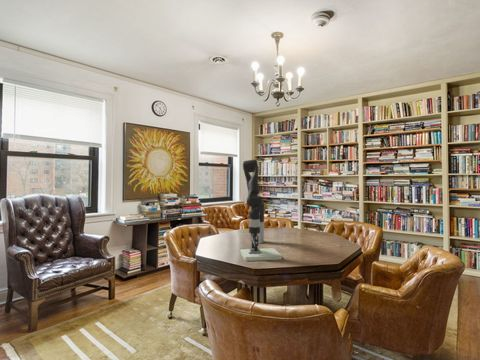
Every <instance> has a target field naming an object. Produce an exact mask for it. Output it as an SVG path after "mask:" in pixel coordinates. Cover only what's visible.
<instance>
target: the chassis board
mask: <svg viewBox="0 0 480 360" xmlns="http://www.w3.org/2000/svg"><path fill="white" fill-rule="evenodd" d="M259 249H260V250H261V251H262V252H260V254H250V253H248V250H250V248H243V249H240V254H241V256H242V258H243V260H244V261H245V262H250V261H251V262H252V261H254V262H256V261H273V260H274V261H276V260H279V261H280V260H282V259H283V255H282V254H281V253H280V252H278V250H276V248H272V247H269V248H259Z"/></svg>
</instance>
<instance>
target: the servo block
mask: <svg viewBox="0 0 480 360" xmlns="http://www.w3.org/2000/svg"><path fill="white" fill-rule="evenodd" d="M249 249H250V250H248V253H250V254H260V252H262V251H261V250H260V249H261V248H259V247H258V251H257V252H255V251H254V248H252V247H251V248H249Z"/></svg>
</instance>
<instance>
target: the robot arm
mask: <svg viewBox="0 0 480 360" xmlns="http://www.w3.org/2000/svg"><path fill="white" fill-rule="evenodd" d="M242 170H243V173H244V177H245V180H246V186H247V192H248V193H247V194H248V195H247V198H246V205H247V206H248V207H250V211H249V213H248V215H249V216H248V217H249V219H248V233H249V234H250V243H251V248H254V251H255V252H257V251H258V248H259V247H258V246H259V244H264V243H265V203H264V202H263V197H261V196H259V194H260V191H261V189H260V184H259V164H258V161H257V159H249V160H244V161H243V162H242ZM250 173H253V174H250Z"/></svg>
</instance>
